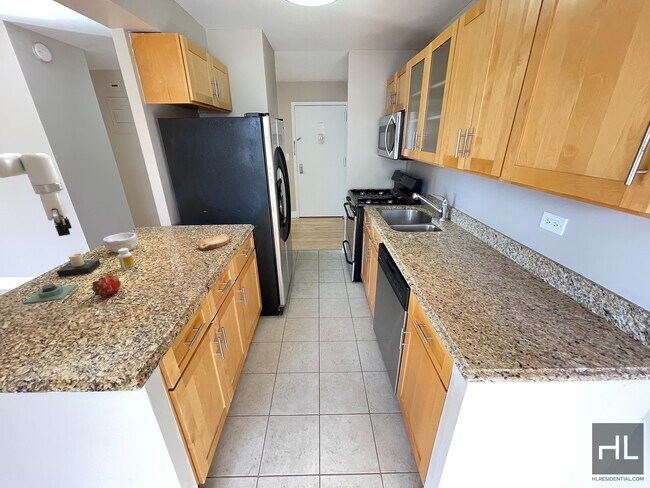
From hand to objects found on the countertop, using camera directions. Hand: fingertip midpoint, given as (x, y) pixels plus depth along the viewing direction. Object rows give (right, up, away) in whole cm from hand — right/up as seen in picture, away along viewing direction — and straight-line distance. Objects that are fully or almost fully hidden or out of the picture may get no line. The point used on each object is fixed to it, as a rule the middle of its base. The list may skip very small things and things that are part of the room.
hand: (65, 232), depth 103 cm
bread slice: (+37, -5, +53) cm, 65 cm away
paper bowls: (-12, -8, +45) cm, 47 cm away
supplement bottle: (+7, -17, +24) cm, 30 cm away
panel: (-14, -18, +21) cm, 31 cm away
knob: (-14, -15, +20) cm, 29 cm away
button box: (-4, -26, 0) cm, 27 cm away
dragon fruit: (+15, -25, +3) cm, 30 cm away
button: (-4, -23, -2) cm, 23 cm away
